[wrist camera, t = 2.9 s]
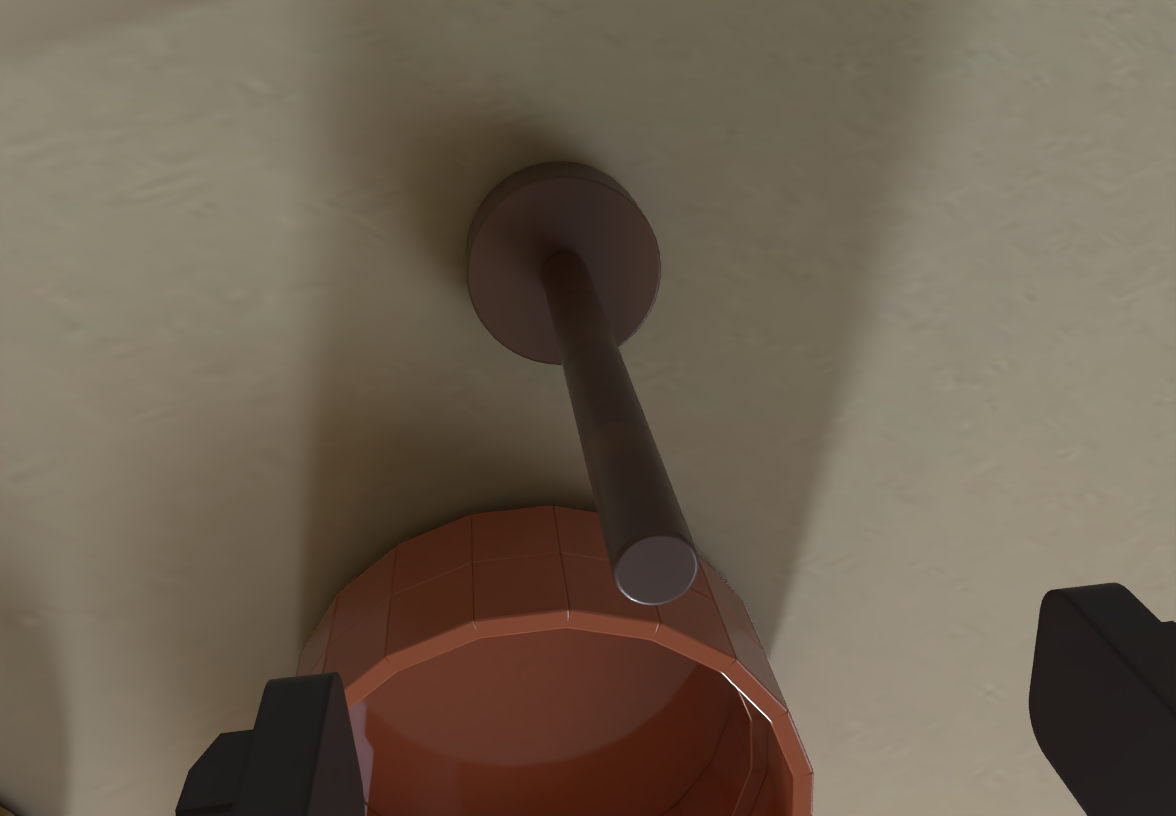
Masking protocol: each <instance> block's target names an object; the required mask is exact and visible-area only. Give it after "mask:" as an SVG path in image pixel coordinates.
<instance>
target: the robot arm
mask: <svg viewBox="0 0 1176 816" xmlns="http://www.w3.org/2000/svg"><path fill="white" fill-rule="evenodd" d="M1029 713H1030V719H1031V724H1032V727H1033V731H1034V734H1035V737H1036V739H1037V742H1038V744H1039V746H1040V748H1041V750H1042V752H1043V753H1044V755H1045V757H1046V758H1047V759H1048V761H1049V762H1050V764H1051V765H1052V766H1053V768H1054V769H1055V771H1056V772H1057V773H1058V775H1059V776H1060V778H1061V779H1062V780H1063V782H1064V783H1065V785H1066V786H1067V788H1068V789H1069V790H1070V792H1071V793H1072V795H1073V796H1074V797H1075V799H1076V800H1077V802H1078V803H1079V804H1080V806H1081V807H1082V809H1083V810H1084V811H1085V813H1086V814H1087V816H1176V623H1175V622H1174V621H1168V622H1161V621H1160V620H1159V619H1158V618H1157V617H1156V616H1155V615H1154V614H1153V613H1151V612H1150V611H1149V610H1148V609H1147V608H1146V607H1145V606H1144V605H1143V604H1142V603H1141V602H1140V601H1139V600H1138V599H1137V598H1136V597H1135V596H1134V595H1133V594H1132V593H1131V592H1130V591H1129V590H1128V589H1127V588H1125V587H1124V586H1123V585H1121V584H1118V583H1106V584H1097V585H1089V586H1080V587H1072V588H1063V589H1055V590H1050V591H1048V592H1047V593H1046V594H1045V596H1044V598H1043V600H1042V603H1041V607H1040V614H1039V622H1038V630H1037V637H1036V645H1035V653H1034V661H1033V668H1032V676H1031V684H1030V692H1029ZM175 812H176V816H365V805H364V792H363V784H362V777H361V772H360V767H359V762H358V757H357V752H356V747H355V742H354V737H353V732H352V727H351V722H350V717H349V712H348V707H347V702H346V697H345V692H344V687H343V683H342V680H341V677H340V675H339V673H338V672H331V673H323V674H314V675H305V676H297V677H288V678H280V679H272V680H269V681H268V682H267V684H266V686H265V689H264V692H263V696H262V700H261V703H260V707H259V711H258V714H257V718H256V722H255V725H254V729H253V730H245V731H237V732H229V733H220V735H219V736H218V737H217V738H216V739H215V741H214V742H213V743H212V744H211V745H210V746H209V748H208V749H207V750H206V751H205V752H204V753H203V755H202V756H201V757H200V758H199V759H198V760H197V762H196V763H195V764H194V765H193V766H192V768H191V769H190V770H189V772H188V775H187V778H186V781H185V784H184V787H183V789H182V792H181V795H180V798H179V801H178V804H177V807H176V810H175Z"/></svg>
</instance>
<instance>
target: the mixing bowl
mask: <svg viewBox="0 0 1176 816" xmlns="http://www.w3.org/2000/svg"><path fill="white" fill-rule="evenodd" d="M698 557H699V569H698V573H697V576H696V579H695V581H694V583H693V584H692V586H691V587H690V588H689V589H688V590H687V591H686V592H685V593H684V594H683V595H682V596H680V597H679V598H677V599H675V600H673V601H671V602H668V603H665V604H660V605H645V604H640V603H637V602H635V601H632V600H631V599H629V598H627V597H626V596H625V595H624V594H622V593H621V591H620V590H619V589H618V588H617V586H616V584H615V582H614V579H613V576H612V571H611V567H610V563H609V559H608V555H607V550H606V546H605V542H604V538H603V534H602V529H601V525H600V521H599V517H598V513H596V512H590V511H584V510H578V509H572V508H566V507H560V506H552V505H547V506H538V507H530V508H521V509H512V510H503V511H494V512H485V513H476V514H472V515H468V516H465V517H463V518H461V519H458V520H456V521H453V522H451V523H448V524H446V525H443V526H441V527H439V528H436V529H434V530H431V531H429V532H426V533H424V534H421V535H419V536H417V537H414V538H412V539H409V540H407V541H404V542H402V543H399V544H398V545H397V546H396V547H394V548H393V549H392V550H390V551H389V552H388V553H387V554H385V555H384V556H383V557H382V558H381V559H379V560H378V561H377V562H376V563H374V564H373V565H372V566H371V567H369V568H368V569H367V570H366V571H365V572H363V573H362V574H361V575H360V576H358V577H357V578H356V579H355V580H354V581H352V582H351V583H350V584H349V585H347V586H346V587H345V588H344V589H342V590H341V591H340V592H339V594H337V595H336V597H335V598H334V600H333V601H332V603H331V605H330V606H329V608H328V610H327V611H326V613H325V614H324V616H323V618H322V619H321V621H320V623H319V624H318V626H317V627H316V629H315V631H314V632H313V634H312V635H311V637H310V639H309V640H308V642H307V644H306V645H305V647H304V648H303V650H302V653H301V656H300V660H299V665H298V669H297V674H296V677H297V676H305V675H314V674H323V673H331V672H338V673H339V675H340V677H341V680H342V683H343V687H344V692H345V697H346V702H347V707H348V712H349V717H350V722H351V727H352V732H353V737H354V742H355V747H356V752H357V757H358V762H359V767H360V772H361V777H362V784H363V792H364V805H365V816H812V811H813V775H814V773H813V769H812V766H811V764H810V761H809V759H808V756H807V754H806V751H805V749H804V746H803V744H802V741H801V739H800V737H799V734H798V732H797V729H796V727H795V724H794V722H793V719H792V717H791V714H790V712H789V710H788V707H787V705H786V703H785V700H784V698H783V695H782V693H781V691H780V688H779V686H778V684H777V681H776V679H775V677H774V674H773V672H772V670H771V667H770V665H769V663H768V660H767V658H766V656H765V653H764V651H763V649H762V646H761V644H760V642H759V639H758V637H757V634H756V632H755V630H754V627H753V625H752V623H751V620H750V618H749V616H748V613H747V611H746V609H745V606H744V604H743V602H742V600H741V599H740V597H739V596H738V595H737V594H736V593H735V592H734V591H733V590H732V589H731V588H730V587H729V586H728V585H727V584H726V583H725V582H724V580H723V579H722V578H721V577H720V576H719V575H718V574H717V573H716V572H715V571H714V570H713V569H712V568H711V567H710V566H709V565H708V564H707V563H706V562H705V561H704V560H703V559H702V557H701V556H700V555H699V554H698Z"/></svg>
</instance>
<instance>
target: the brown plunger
mask: <svg viewBox="0 0 1176 816" xmlns="http://www.w3.org/2000/svg"><path fill="white" fill-rule="evenodd" d="M466 264H467V285H468V290H469V295H470V298H471V301H472V304H473V307H474V309H475V311H476V313H477V315H478V317H479V319H480V321H481V322H482V324H483V325H484V327H485V328H486V329H487V330H488V331H489V333H490V334H491V335H492V336H493V337H494V338H495V339H496V340H497V341H499V342H500V343H501V344H502V345H503V346H505V347H506V348H508V349H509V350H511V351H512V352H514V353H516V354H518V355H520V356H522V357H525V358H527V359H530V360H533V361H537V362H542V363H546V364H557V365H562V366H563V370H564V374H565V378H566V382H567V387H568V391H569V395H570V399H571V403H572V408H573V412H574V416H575V420H576V424H577V429H578V433H579V437H580V441H581V445H582V450H583V454H584V458H585V462H586V466H587V471H588V475H589V479H590V483H591V487H592V492H593V496H594V500H595V504H596V508H597V513H598V517H599V521H600V525H601V529H602V534H603V538H604V542H605V546H606V550H607V555H608V559H609V563H610V567H611V571H612V576H613V579H614V582H615V584H616V586H617V588H618V589H619V590H620V591H621V593H622V594H624V595H625V596H626V597H627V598H629V599H631V600H632V601H635V602H637V603H640V604H645V605H660V604H665V603H668V602H671V601H673V600H675V599H677V598H679V597H680V596H682V595H683V594H684V593H685V592H686V591H687V590H688V589H689V588H690V587H691V586H692V584H693V583H694V581H695V579H696V576H697V573H698V569H699V557H698V553H697V550H696V548H695V545H694V542H693V540H692V537H691V535H690V532H689V529H688V527H687V524H686V522H685V519H684V517H683V514H682V511H681V509H680V506H679V504H678V501H677V498H676V496H675V493H674V491H673V488H672V485H671V483H670V480H669V478H668V475H667V472H666V470H665V467H664V465H663V462H662V460H661V457H660V454H659V452H658V449H657V447H656V444H655V441H654V439H653V436H652V434H651V431H650V428H649V426H648V423H647V421H646V418H645V416H644V413H643V410H642V408H641V405H640V403H639V400H638V397H637V395H636V392H635V390H634V387H633V384H632V382H631V379H630V377H629V374H628V372H627V369H626V366H625V364H624V361H623V359H622V356H621V353H620V351H619V348H618V347H619V346H620V345H622V344H623V343H624V342H626V341H627V340H628V339H629V338H630V337H631V336H632V335H633V334H634V333H635V332H636V331H637V330H638V329H639V327H640V326H641V325H642V324H643V322H644V321H645V319H646V318H647V316H648V314H649V313H650V311H651V309H652V306H653V304H654V302H655V299H656V296H657V292H658V289H659V283H660V277H661V261H660V252H659V248H658V244H657V240H656V238H655V235H654V233H653V230H652V228H651V226H650V224H649V223H648V221H647V219H646V218H645V216H644V215H643V213H642V212H641V210H640V209H639V207H638V206H637V204H636V203H635V201H634V200H633V199H632V197H631V196H630V195H629V193H628V192H627V191H626V190H625V189H624V188H623V187H622V186H621V185H620V184H619V183H617V182H616V181H615V180H613V179H612V178H611V177H609V176H608V175H606V174H604V173H602V172H600V171H598V170H596V169H593V168H591V167H588V166H585V165H581V164H577V163H569V162H550V163H543V164H538V165H534V166H531V167H528V168H525V169H523V170H521V171H518V172H516V173H514V174H513V175H511V176H509V177H508V178H506V179H505V180H503V181H502V182H501V183H500V184H499V185H497V186H496V187H495V188H494V189H493V190H492V191H491V192H490V193H489V194H488V195H487V197H486V198H485V199H484V201H483V202H482V204H481V205H480V207H479V208H478V210H477V212H476V214H475V216H474V218H473V221H472V224H471V226H470V230H469V234H468V239H467V249H466Z"/></svg>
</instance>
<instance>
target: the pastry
mask: <svg viewBox="0 0 1176 816" xmlns="http://www.w3.org/2000/svg"><path fill="white" fill-rule="evenodd" d="M0 816H15V815H14V814H12V813H11V812H9V811H7V810H6V809H4V808H2V807H0Z"/></svg>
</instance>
